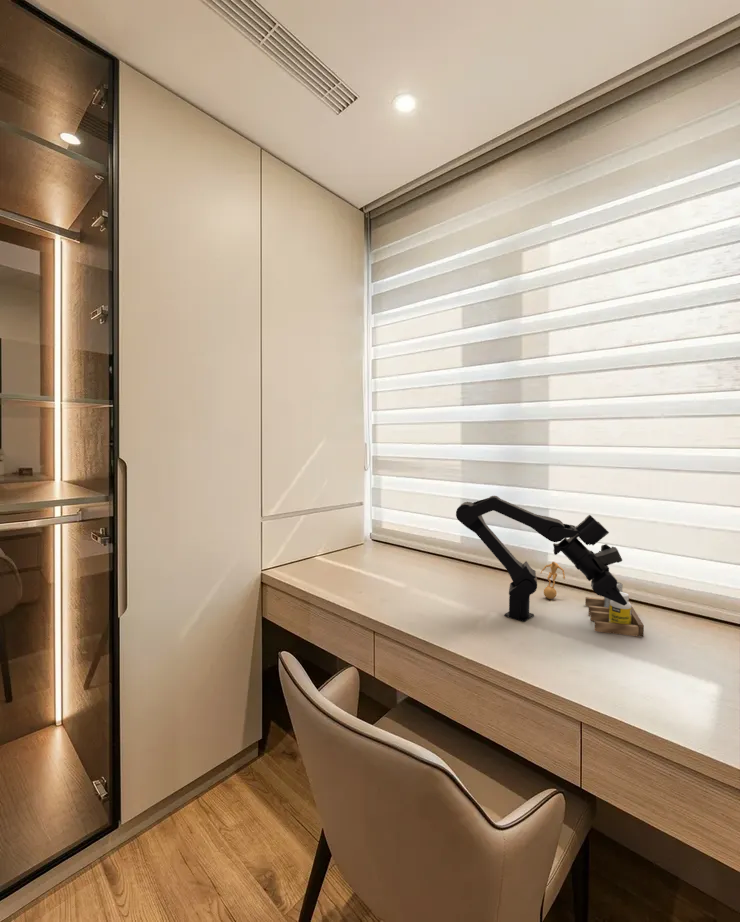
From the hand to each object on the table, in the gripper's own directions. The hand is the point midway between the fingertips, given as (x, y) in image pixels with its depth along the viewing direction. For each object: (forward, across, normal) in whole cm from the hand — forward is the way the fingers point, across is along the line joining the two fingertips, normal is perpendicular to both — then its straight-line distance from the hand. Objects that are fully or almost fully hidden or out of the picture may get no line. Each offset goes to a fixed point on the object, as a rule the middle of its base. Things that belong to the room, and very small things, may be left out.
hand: (622, 598), depth 129 cm
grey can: (+6, +12, +6) cm, 15 cm away
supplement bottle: (+6, 0, +6) cm, 9 cm away
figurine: (-6, +20, +18) cm, 28 cm away
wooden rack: (+5, +6, +7) cm, 10 cm away
